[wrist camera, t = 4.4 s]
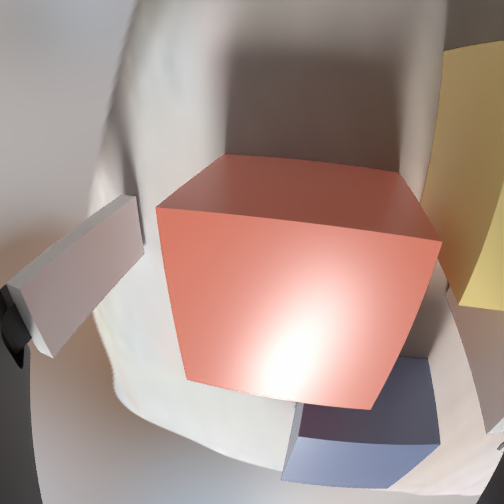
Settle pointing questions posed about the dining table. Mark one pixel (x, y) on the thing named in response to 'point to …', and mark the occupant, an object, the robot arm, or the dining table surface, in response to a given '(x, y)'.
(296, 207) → the red brick
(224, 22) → the dining table surface
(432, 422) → the blue cube
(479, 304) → the mustard brick
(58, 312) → the robot arm
